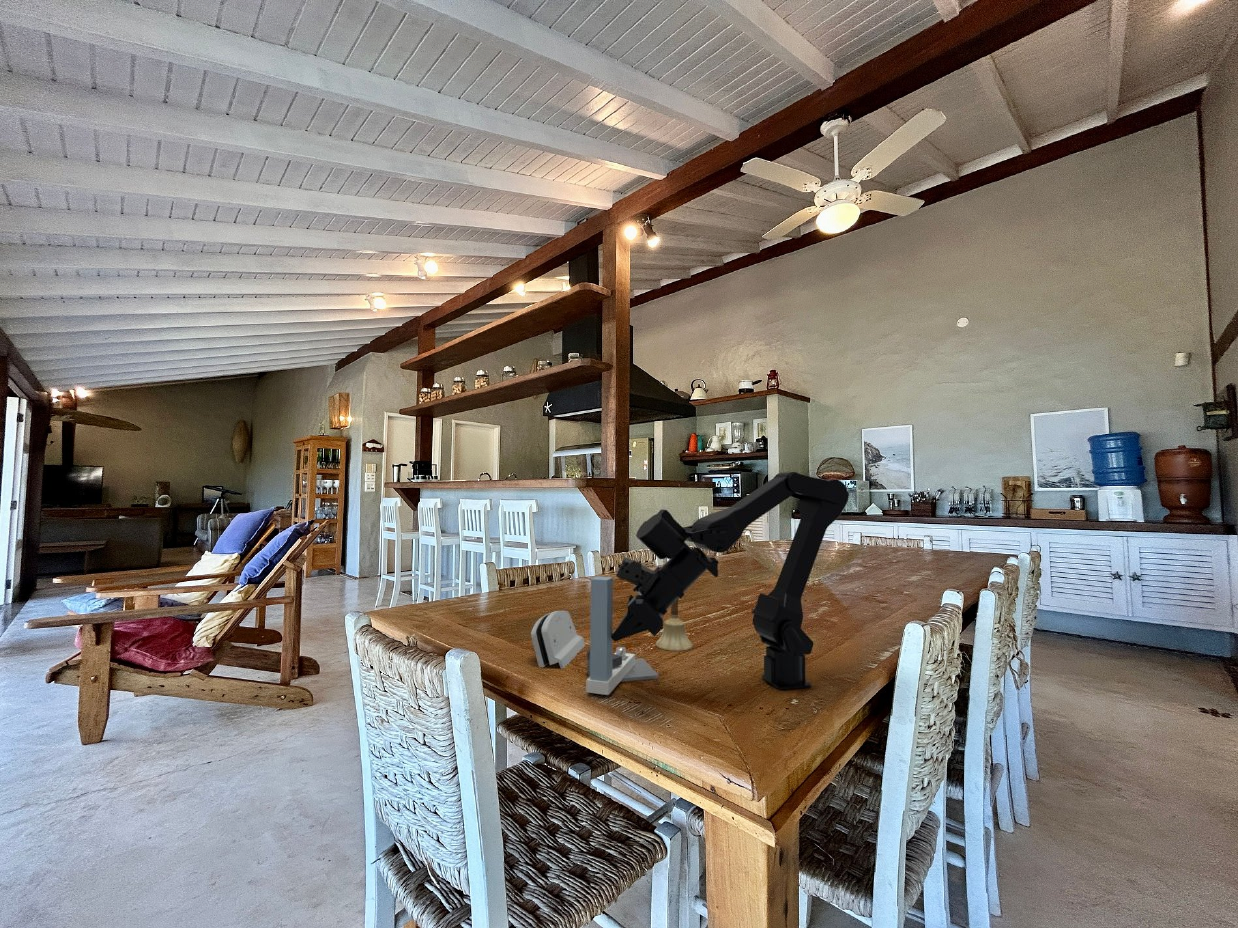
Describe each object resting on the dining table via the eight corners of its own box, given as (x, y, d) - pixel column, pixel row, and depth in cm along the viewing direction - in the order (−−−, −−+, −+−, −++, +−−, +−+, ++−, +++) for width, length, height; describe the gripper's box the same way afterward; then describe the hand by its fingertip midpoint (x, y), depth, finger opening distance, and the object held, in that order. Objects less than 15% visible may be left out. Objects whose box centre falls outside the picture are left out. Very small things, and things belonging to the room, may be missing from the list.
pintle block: (642, 660, 105) (642, 638, 105) (660, 680, 95) (660, 655, 95) (582, 665, 102) (582, 642, 102) (593, 686, 91) (593, 660, 92)
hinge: (562, 669, 100) (547, 619, 101) (541, 676, 101) (525, 626, 102) (585, 644, 116) (572, 601, 117) (567, 650, 117) (553, 607, 118)
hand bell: (699, 645, 116) (699, 574, 117) (677, 653, 110) (677, 578, 111) (670, 638, 122) (670, 570, 123) (648, 645, 116) (648, 574, 117)
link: (615, 662, 102) (616, 566, 103) (635, 664, 101) (635, 567, 102) (586, 691, 87) (587, 579, 88) (608, 695, 86) (609, 580, 87)
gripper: (645, 537, 99) (588, 594, 99) (641, 547, 80) (571, 617, 81) (686, 579, 98) (628, 636, 98) (692, 599, 79) (621, 670, 80)
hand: (613, 638), depth 89 cm, fingers closed
